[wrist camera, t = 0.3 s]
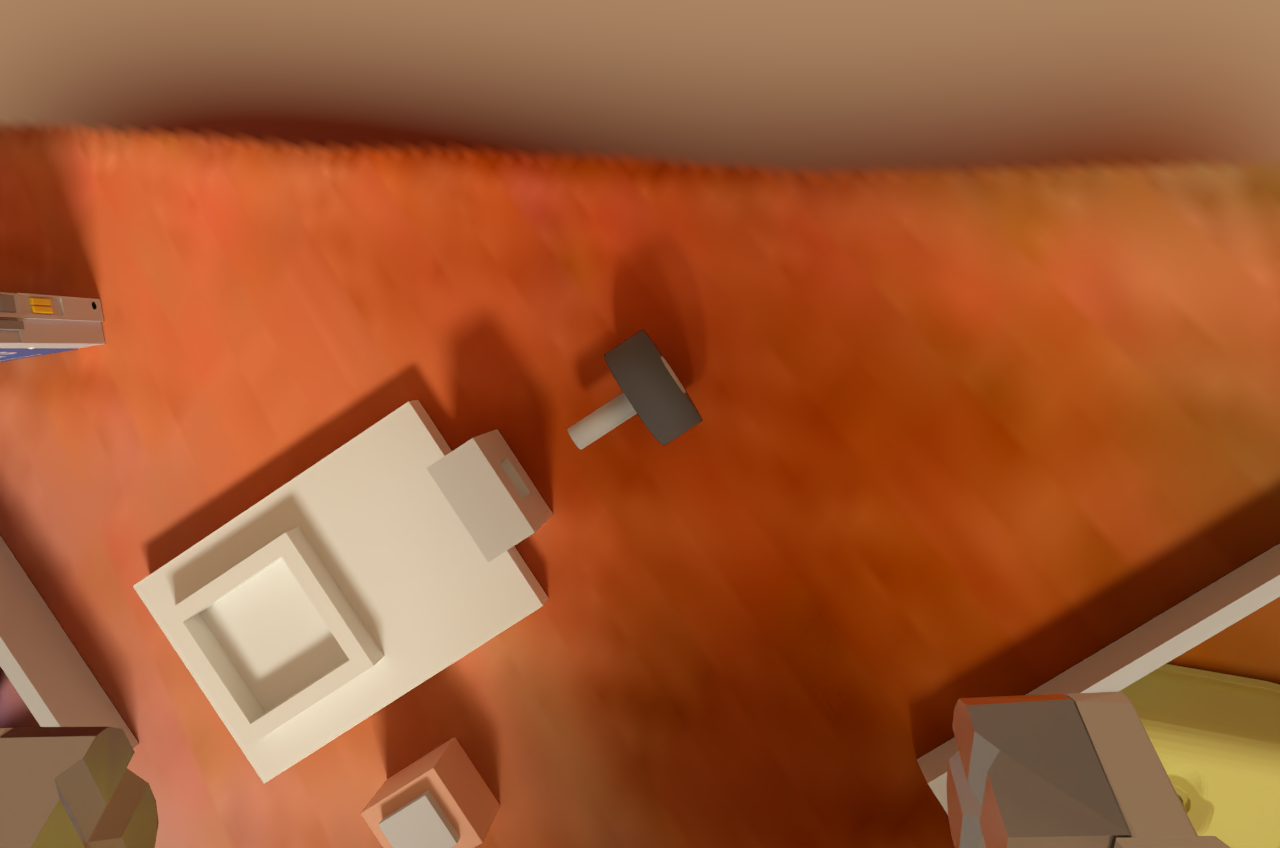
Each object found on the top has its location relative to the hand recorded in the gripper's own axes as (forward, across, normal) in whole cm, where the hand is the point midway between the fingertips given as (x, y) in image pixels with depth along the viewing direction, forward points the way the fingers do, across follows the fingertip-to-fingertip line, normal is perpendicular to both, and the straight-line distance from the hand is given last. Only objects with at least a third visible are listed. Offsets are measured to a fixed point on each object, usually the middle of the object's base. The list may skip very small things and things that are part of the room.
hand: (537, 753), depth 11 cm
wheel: (+47, -2, -24) cm, 53 cm away
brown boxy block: (+37, -15, -44) cm, 60 cm away
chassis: (+43, -18, -33) cm, 57 cm away
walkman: (+51, -38, -19) cm, 66 cm away
